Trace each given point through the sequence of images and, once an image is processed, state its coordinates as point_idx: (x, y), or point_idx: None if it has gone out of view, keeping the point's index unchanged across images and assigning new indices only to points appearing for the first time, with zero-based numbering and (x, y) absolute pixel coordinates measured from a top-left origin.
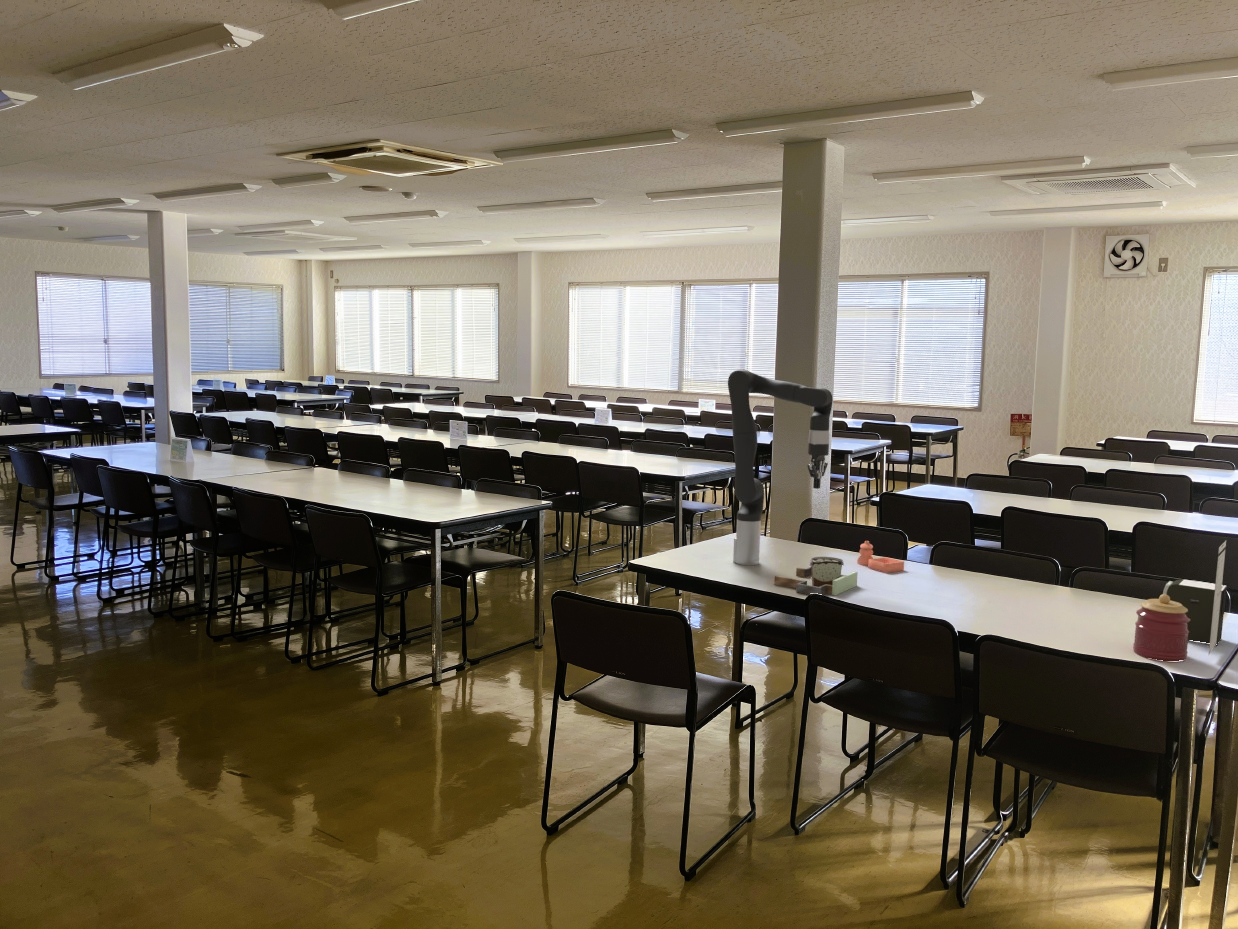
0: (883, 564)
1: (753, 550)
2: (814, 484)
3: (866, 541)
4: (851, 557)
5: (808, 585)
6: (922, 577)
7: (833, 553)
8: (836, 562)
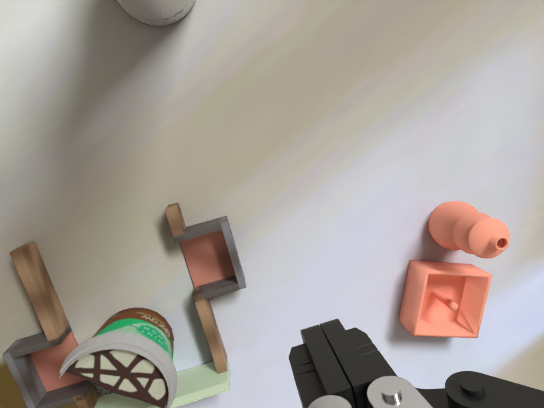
0: (413, 322)
1: (130, 4)
2: (295, 376)
3: (504, 239)
4: (510, 129)
5: (21, 383)
6: (440, 381)
7: (520, 56)
8: (147, 402)
